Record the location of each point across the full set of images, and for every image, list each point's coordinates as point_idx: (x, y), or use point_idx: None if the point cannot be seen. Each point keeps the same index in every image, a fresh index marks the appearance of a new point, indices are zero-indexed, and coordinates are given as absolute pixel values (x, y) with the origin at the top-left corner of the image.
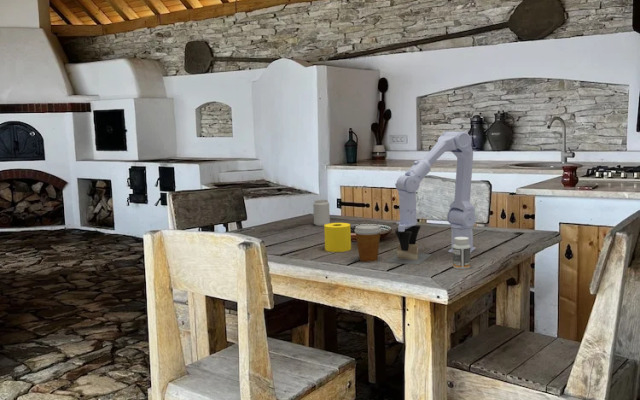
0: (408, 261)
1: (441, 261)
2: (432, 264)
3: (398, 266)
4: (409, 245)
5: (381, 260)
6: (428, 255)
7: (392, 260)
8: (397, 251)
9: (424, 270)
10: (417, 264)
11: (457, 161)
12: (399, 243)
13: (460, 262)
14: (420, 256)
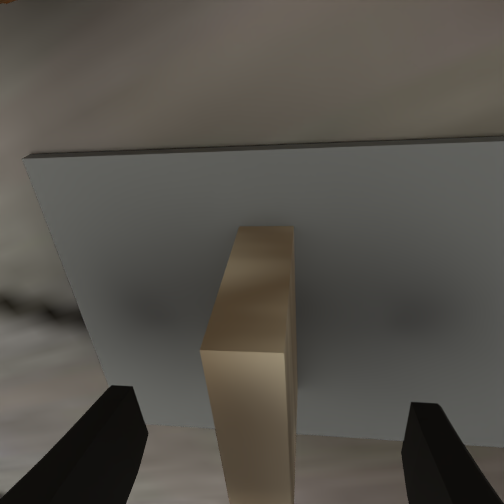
0: (163, 350)
1: (310, 495)
2: (204, 468)
3: (8, 309)
4: (225, 477)
5: (99, 55)
6: (456, 431)
7: (115, 214)
8: (226, 275)
9: (41, 454)
10: None
11: None
12: (283, 364)
13: None
14: (396, 390)
